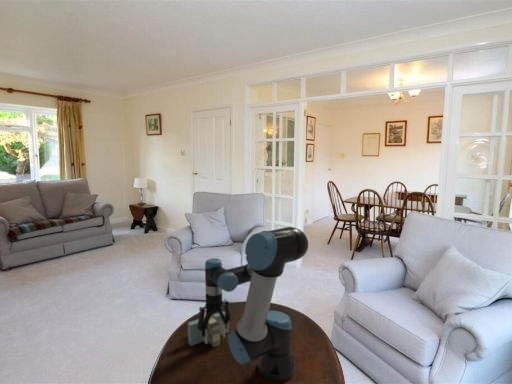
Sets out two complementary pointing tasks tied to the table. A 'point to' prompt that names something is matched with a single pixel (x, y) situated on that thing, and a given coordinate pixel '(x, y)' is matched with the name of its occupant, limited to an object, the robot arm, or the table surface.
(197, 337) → the base plate
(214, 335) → the beige bar
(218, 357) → the table surface
